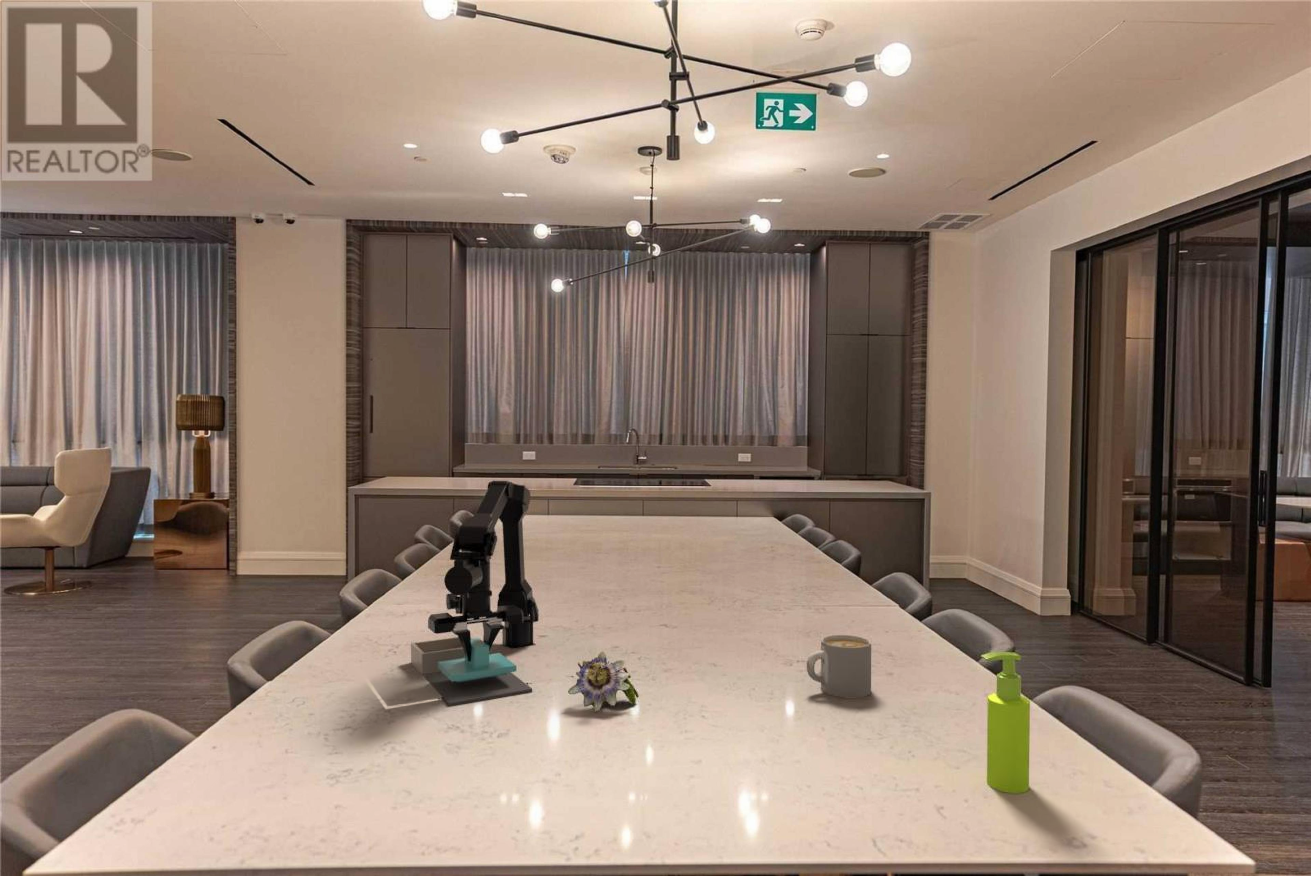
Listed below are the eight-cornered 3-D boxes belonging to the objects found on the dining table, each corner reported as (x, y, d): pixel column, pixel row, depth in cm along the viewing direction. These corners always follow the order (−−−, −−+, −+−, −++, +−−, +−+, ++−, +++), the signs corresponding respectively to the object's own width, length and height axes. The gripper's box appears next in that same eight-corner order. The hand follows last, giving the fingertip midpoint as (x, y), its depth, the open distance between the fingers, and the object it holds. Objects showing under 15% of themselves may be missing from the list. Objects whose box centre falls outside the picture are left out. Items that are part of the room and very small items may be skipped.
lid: (499, 662, 182) (499, 632, 181) (516, 675, 172) (516, 644, 172) (437, 671, 175) (437, 641, 175) (451, 685, 166) (451, 653, 166)
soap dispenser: (973, 777, 129) (974, 648, 129) (1016, 775, 130) (1017, 647, 129) (991, 794, 124) (993, 659, 123) (1036, 792, 124) (1038, 658, 124)
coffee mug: (862, 681, 176) (862, 634, 176) (877, 697, 166) (878, 647, 166) (799, 682, 175) (799, 635, 175) (811, 698, 165) (811, 648, 165)
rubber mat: (501, 667, 186) (501, 664, 186) (532, 691, 170) (532, 688, 170) (424, 679, 178) (424, 676, 178) (448, 706, 161) (448, 703, 161)
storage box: (468, 656, 194) (467, 635, 194) (481, 668, 185) (481, 645, 185) (411, 665, 188) (410, 642, 188) (422, 677, 179) (422, 654, 179)
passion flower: (598, 739, 159) (560, 692, 157) (599, 708, 170) (564, 664, 167) (647, 707, 158) (610, 659, 156) (645, 679, 168) (611, 634, 166)
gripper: (506, 574, 185) (506, 644, 185) (420, 582, 176) (421, 656, 176) (524, 583, 175) (524, 657, 176) (435, 592, 166) (435, 670, 166)
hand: (476, 659), depth 174 cm, fingers closed on lid, 3 cm apart
